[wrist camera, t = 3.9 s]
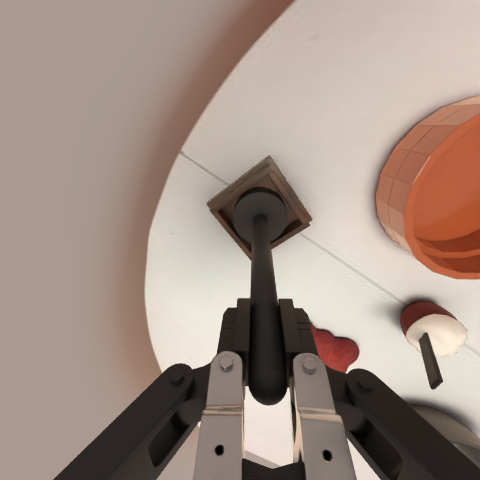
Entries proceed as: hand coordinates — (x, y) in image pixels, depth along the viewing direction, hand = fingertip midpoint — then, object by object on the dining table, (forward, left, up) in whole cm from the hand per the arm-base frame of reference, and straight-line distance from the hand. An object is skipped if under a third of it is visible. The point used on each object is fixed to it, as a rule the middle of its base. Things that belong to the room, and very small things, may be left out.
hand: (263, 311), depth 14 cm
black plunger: (0, 0, -17) cm, 17 cm away
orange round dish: (+10, +19, -18) cm, 28 cm away
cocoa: (+25, +9, -18) cm, 32 cm away
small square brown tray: (0, 0, -18) cm, 18 cm away
